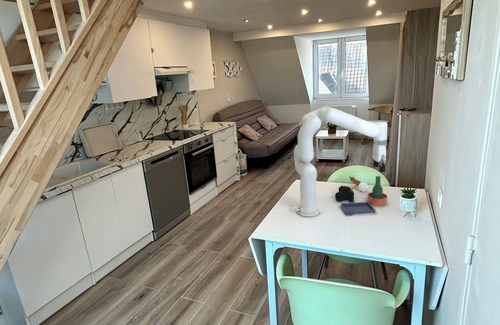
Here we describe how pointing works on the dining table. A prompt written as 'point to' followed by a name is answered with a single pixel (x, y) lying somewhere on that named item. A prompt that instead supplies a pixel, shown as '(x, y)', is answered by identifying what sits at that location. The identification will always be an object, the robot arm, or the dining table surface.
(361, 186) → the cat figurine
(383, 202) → the bowl
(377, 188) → the bottle
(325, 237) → the dining table surface
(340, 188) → the film camera
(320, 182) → the dining table surface
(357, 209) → the tray
